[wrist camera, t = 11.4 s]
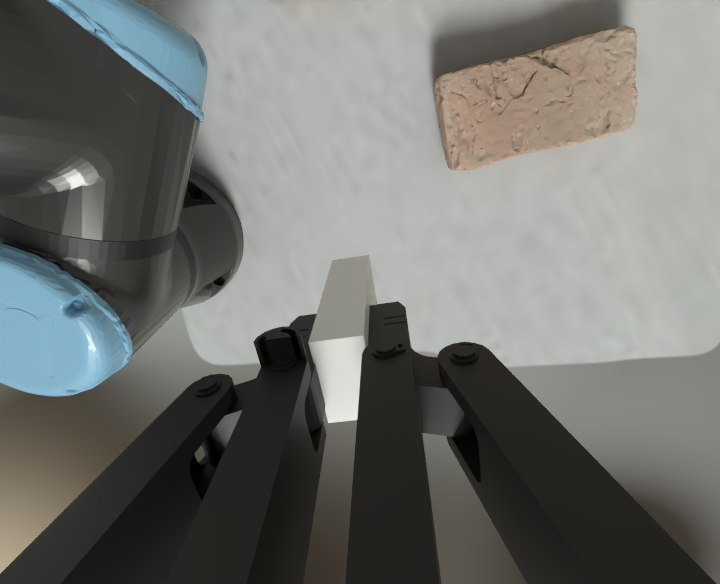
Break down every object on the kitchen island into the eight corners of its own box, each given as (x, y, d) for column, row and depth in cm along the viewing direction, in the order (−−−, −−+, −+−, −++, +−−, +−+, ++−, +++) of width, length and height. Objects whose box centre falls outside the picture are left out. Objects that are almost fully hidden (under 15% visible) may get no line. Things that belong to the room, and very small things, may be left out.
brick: (615, 28, 38) (644, 17, 34) (618, 126, 41) (644, 128, 37) (429, 79, 41) (434, 76, 36) (444, 169, 44) (450, 175, 39)
